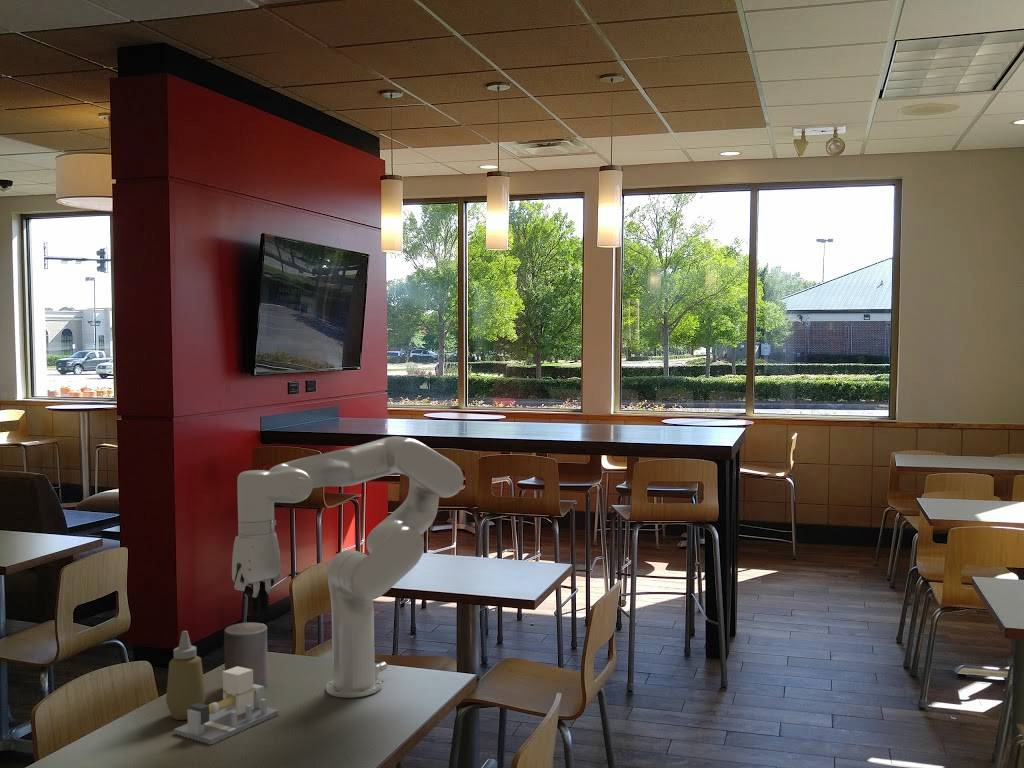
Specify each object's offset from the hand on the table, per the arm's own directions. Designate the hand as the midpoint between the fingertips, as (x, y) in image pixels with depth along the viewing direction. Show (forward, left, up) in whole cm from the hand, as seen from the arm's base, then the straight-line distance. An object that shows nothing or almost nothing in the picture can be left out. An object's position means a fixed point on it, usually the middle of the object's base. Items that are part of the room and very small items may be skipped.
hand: (258, 612), depth 200 cm
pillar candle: (-9, -14, -21) cm, 27 cm away
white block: (+6, 0, -19) cm, 20 cm away
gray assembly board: (+9, 0, -21) cm, 23 cm away
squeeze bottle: (+10, -12, -21) cm, 26 cm away
